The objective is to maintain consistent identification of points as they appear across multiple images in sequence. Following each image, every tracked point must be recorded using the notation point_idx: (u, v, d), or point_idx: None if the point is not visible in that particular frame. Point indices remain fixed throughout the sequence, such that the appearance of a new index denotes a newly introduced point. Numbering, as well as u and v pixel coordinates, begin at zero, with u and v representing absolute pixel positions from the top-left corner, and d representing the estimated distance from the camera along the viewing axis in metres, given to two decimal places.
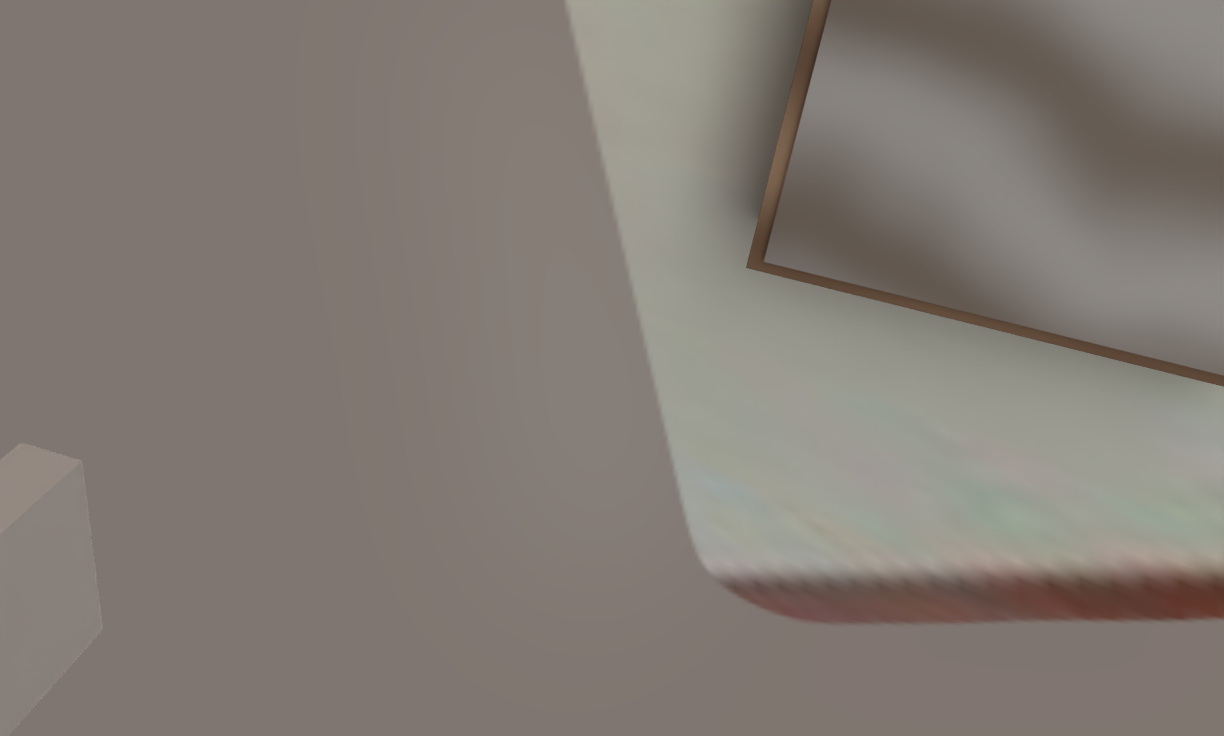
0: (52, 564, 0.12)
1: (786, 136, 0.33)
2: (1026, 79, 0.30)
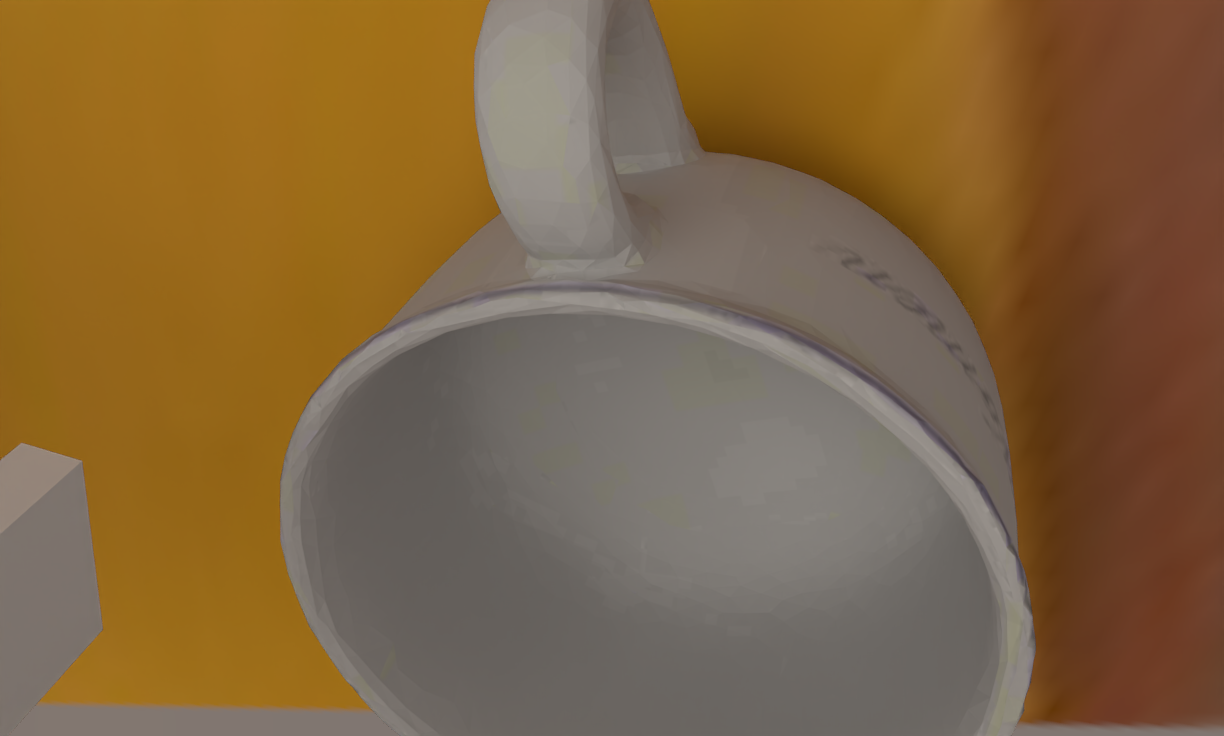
0: (52, 564, 0.12)
1: None
2: None
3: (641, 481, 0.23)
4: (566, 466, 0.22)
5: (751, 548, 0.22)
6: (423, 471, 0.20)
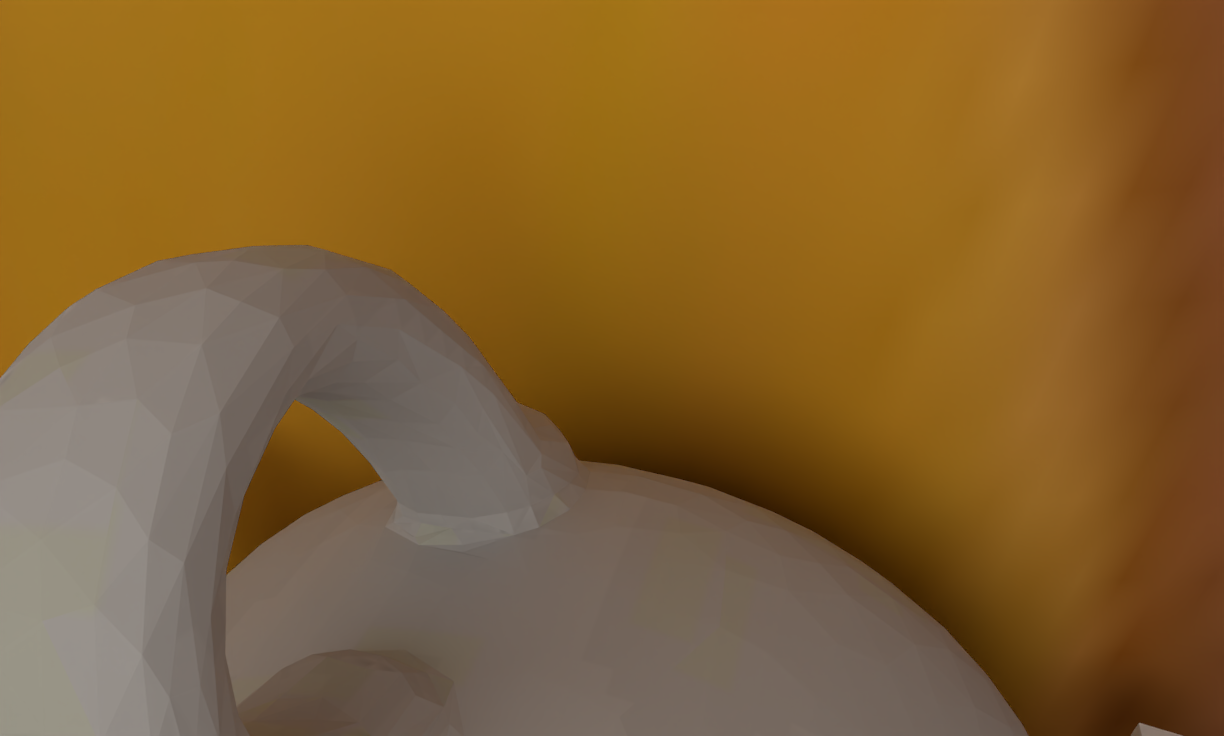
0: None
1: None
2: None
3: None
4: None
5: None
6: None
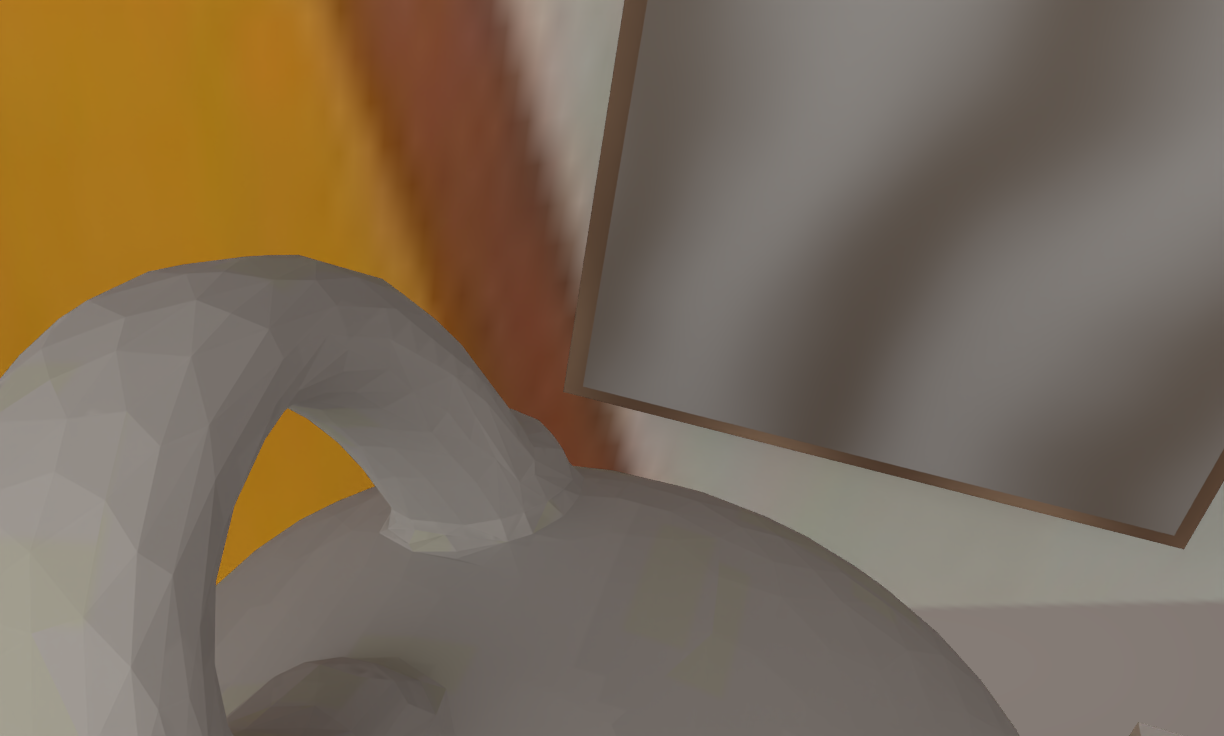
0: None
1: (990, 492, 0.26)
2: (933, 236, 0.23)
3: None
4: None
5: None
6: None
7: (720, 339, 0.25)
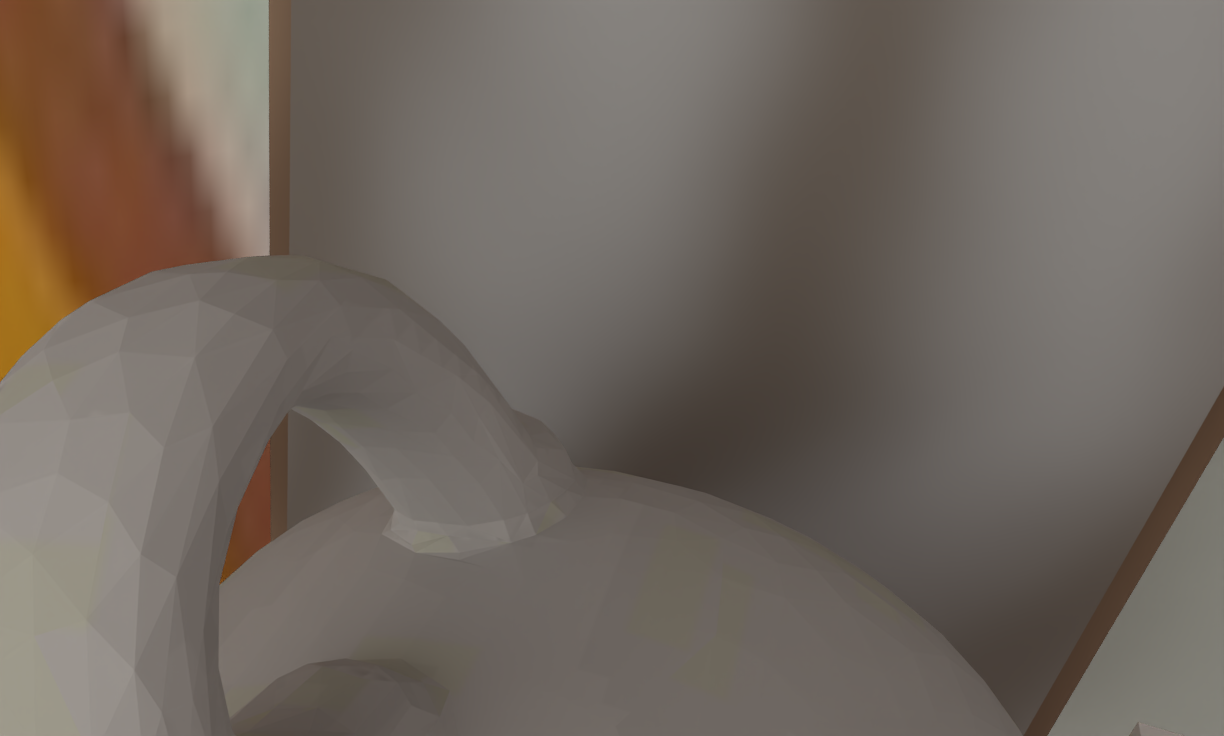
0: None
1: None
2: None
3: None
4: None
5: None
6: None
7: None
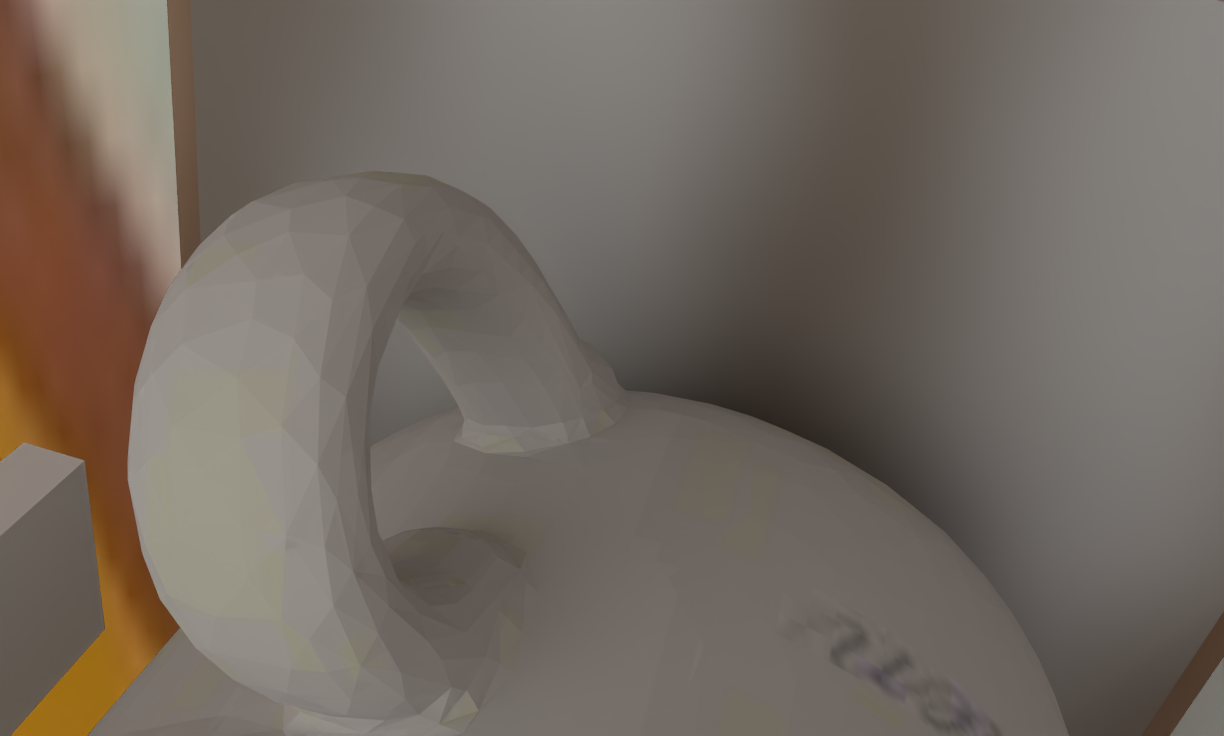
0: (54, 563, 0.12)
1: None
2: None
3: None
4: None
5: None
6: None
7: None
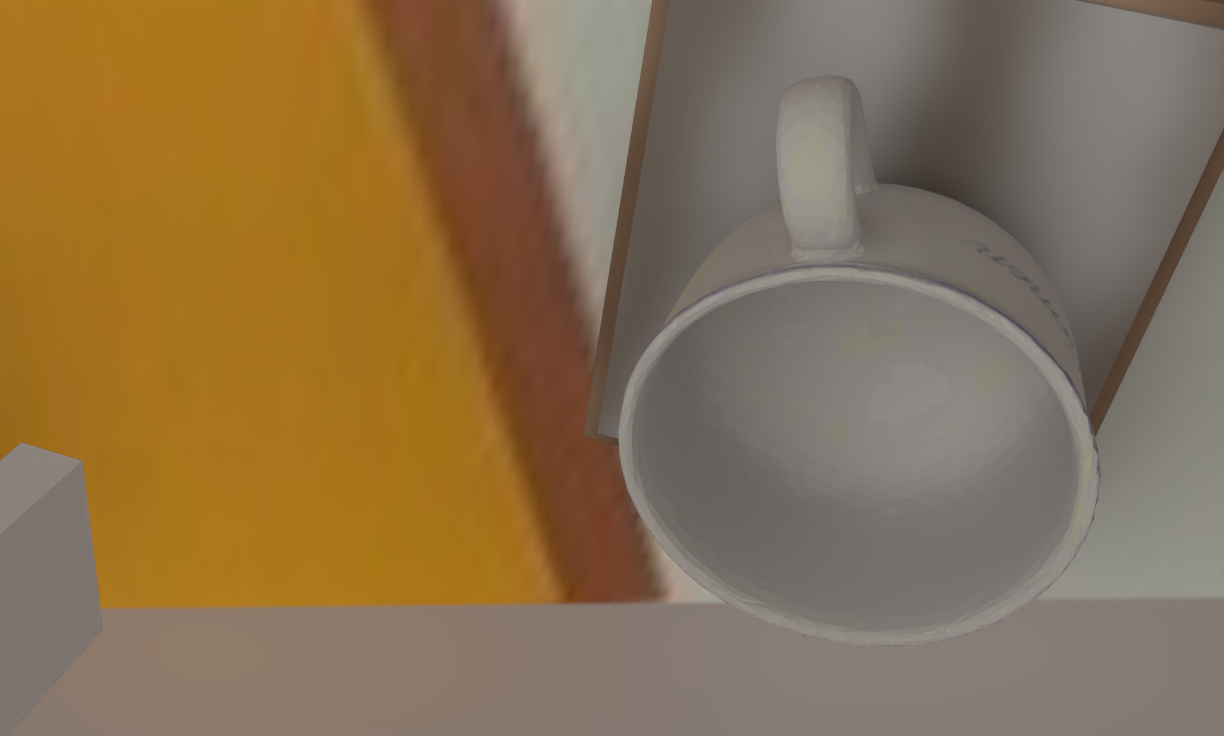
0: (52, 564, 0.12)
1: None
2: None
3: (816, 410, 0.32)
4: (763, 400, 0.32)
5: (895, 456, 0.32)
6: (679, 398, 0.30)
7: None
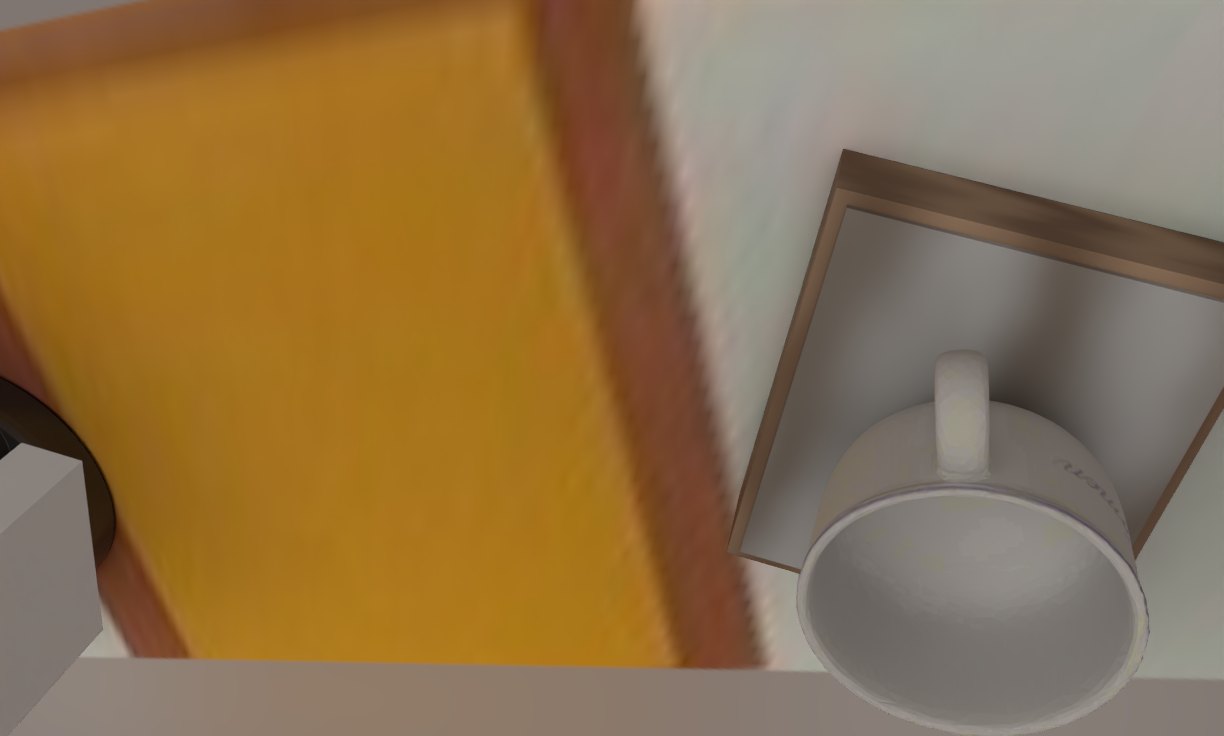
0: (52, 564, 0.12)
1: None
2: None
3: (919, 546, 0.42)
4: (880, 539, 0.42)
5: (980, 583, 0.42)
6: (826, 545, 0.40)
7: None
